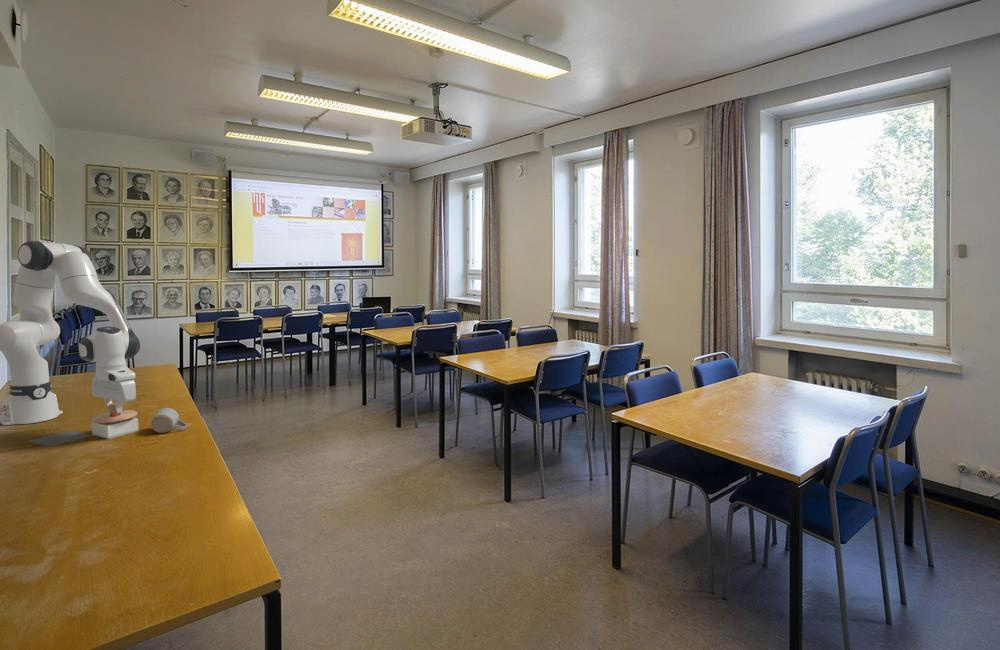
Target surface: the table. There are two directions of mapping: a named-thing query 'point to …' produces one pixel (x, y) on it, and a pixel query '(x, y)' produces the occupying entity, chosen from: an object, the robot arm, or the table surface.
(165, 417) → the ceramic mug
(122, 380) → the robot arm
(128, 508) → the table surface
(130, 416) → the lid
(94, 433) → the dish
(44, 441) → the mat
